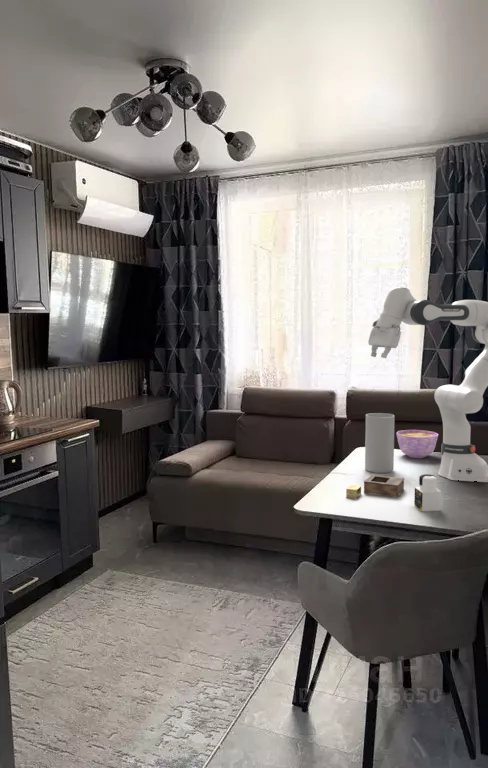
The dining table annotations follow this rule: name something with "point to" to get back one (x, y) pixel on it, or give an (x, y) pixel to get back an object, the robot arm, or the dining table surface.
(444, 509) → the dining table surface
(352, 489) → the brushed brass pillar
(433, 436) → the bowl of food
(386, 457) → the cylinder vase
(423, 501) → the medicine bottle
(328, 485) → the dining table surface
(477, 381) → the robot arm
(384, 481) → the brown wooden frame
